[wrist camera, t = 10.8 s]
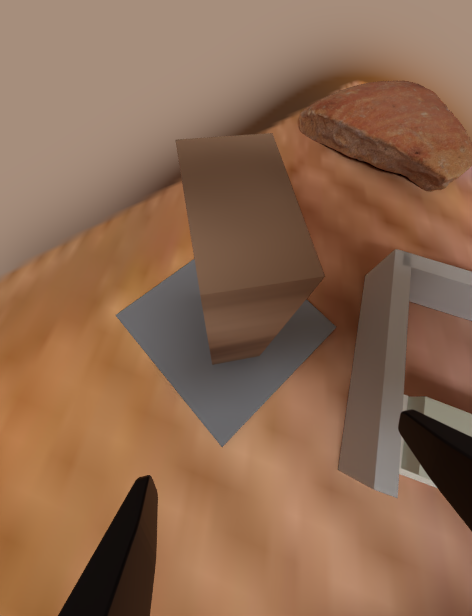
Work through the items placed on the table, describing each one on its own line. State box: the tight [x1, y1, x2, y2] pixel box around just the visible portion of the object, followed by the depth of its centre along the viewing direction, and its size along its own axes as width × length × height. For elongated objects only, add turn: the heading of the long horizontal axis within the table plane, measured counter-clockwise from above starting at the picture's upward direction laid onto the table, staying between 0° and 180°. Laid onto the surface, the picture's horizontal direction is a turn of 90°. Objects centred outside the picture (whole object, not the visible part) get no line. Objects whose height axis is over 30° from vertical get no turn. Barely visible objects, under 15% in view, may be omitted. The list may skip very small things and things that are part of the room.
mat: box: [116, 259, 336, 447], centre depth 19 cm, size 12×12×1 cm
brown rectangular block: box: [176, 133, 325, 365], centre depth 13 cm, size 6×4×12 cm, turn 11°
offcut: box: [401, 396, 472, 481], centre depth 16 cm, size 5×6×2 cm
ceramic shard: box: [299, 81, 472, 191], centre depth 26 cm, size 15×6×15 cm
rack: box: [338, 249, 472, 498], centre depth 17 cm, size 15×13×4 cm
